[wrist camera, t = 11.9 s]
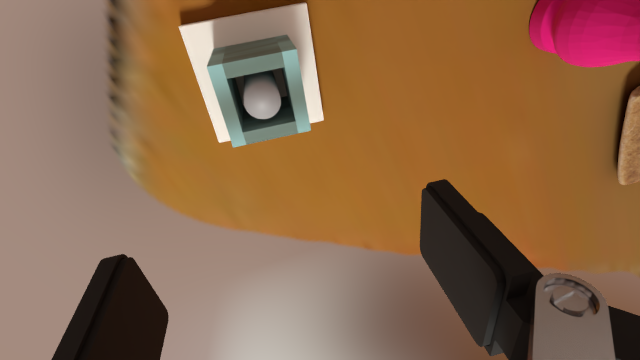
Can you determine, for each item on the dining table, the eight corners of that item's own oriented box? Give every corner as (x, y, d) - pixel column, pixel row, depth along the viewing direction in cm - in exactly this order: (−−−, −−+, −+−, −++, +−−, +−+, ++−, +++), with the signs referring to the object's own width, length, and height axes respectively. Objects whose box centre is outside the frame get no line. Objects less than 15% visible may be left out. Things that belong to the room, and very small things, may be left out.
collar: (213, 48, 27) (206, 66, 22) (286, 34, 27) (296, 48, 22) (235, 118, 30) (233, 147, 25) (300, 104, 30) (310, 130, 25)
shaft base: (180, 25, 26) (162, 40, 20) (304, 2, 27) (321, 11, 21) (219, 138, 32) (214, 175, 26) (321, 116, 33) (338, 148, 27)
